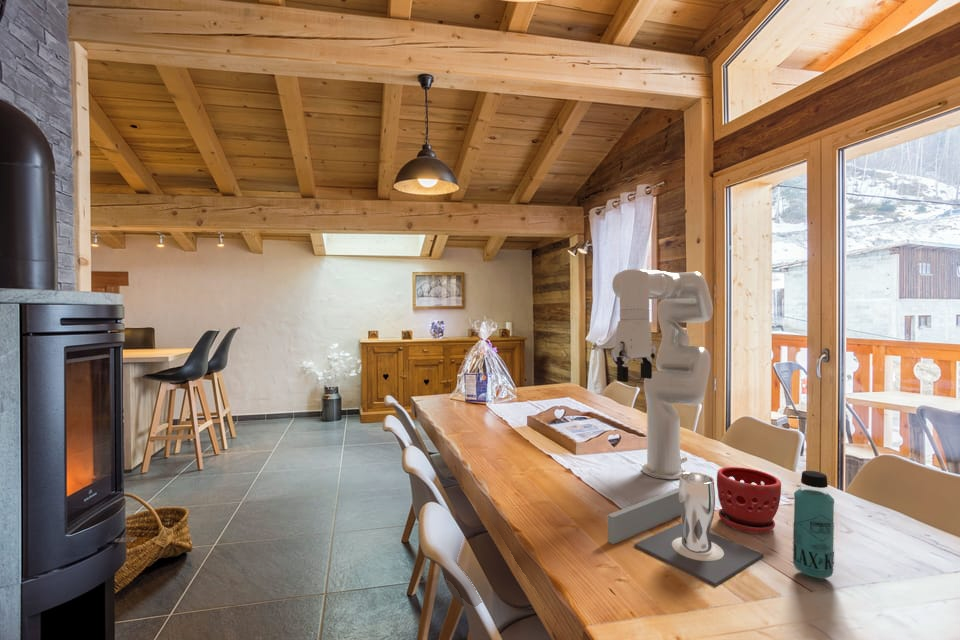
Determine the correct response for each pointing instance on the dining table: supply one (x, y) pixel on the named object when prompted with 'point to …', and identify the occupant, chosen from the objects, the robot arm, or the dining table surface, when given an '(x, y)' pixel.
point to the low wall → (643, 516)
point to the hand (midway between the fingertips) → (634, 379)
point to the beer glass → (696, 511)
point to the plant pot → (748, 499)
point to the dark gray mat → (705, 567)
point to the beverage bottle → (813, 527)
